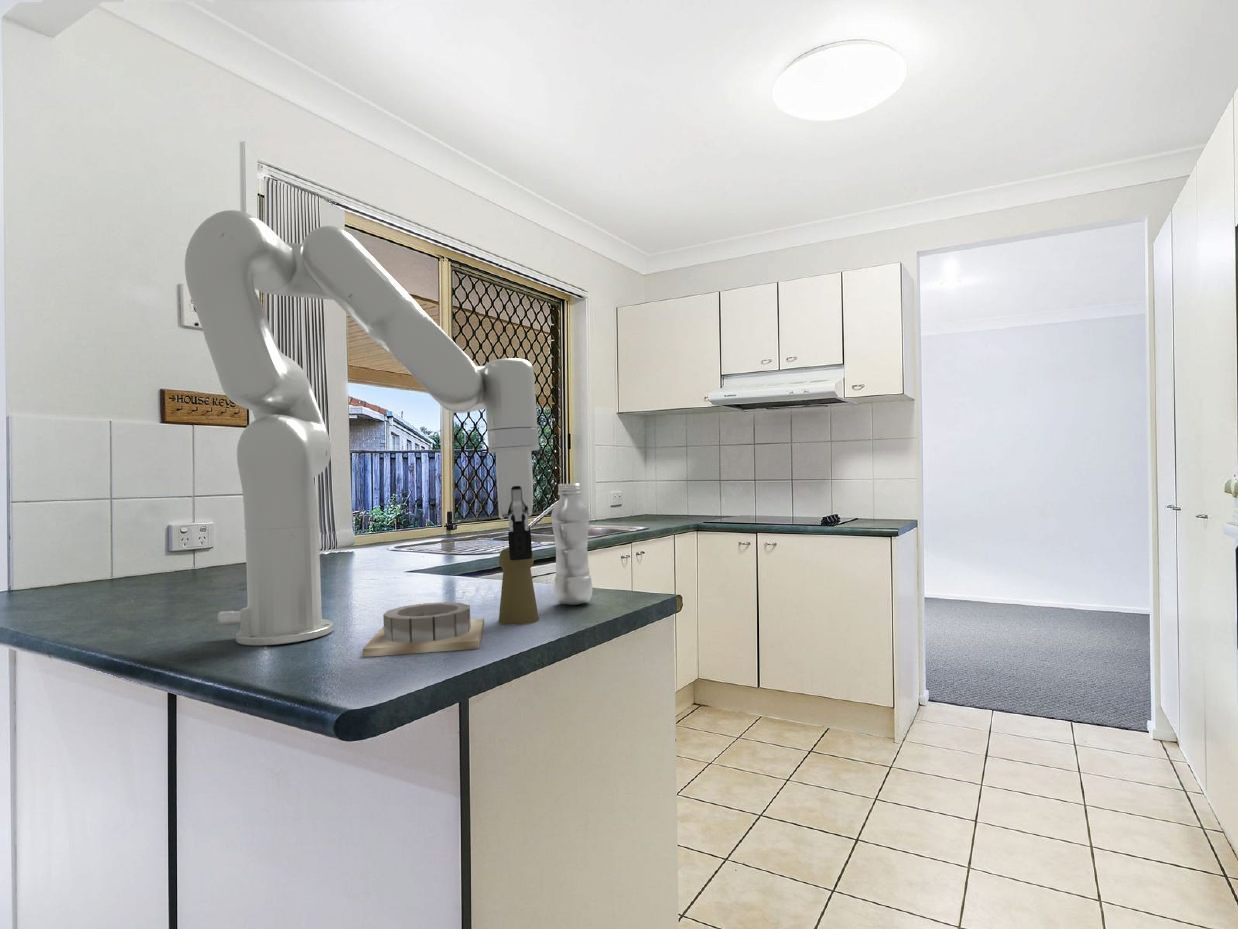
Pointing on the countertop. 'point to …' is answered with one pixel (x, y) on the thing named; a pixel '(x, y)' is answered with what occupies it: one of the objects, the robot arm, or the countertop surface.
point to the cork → (517, 591)
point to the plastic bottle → (571, 547)
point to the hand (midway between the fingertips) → (521, 555)
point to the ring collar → (426, 630)
